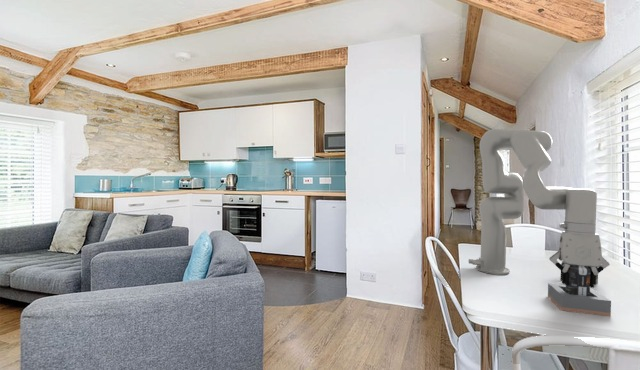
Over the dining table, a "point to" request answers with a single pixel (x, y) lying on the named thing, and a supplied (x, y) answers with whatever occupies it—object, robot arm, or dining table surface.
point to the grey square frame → (579, 301)
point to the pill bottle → (579, 280)
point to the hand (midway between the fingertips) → (577, 284)
